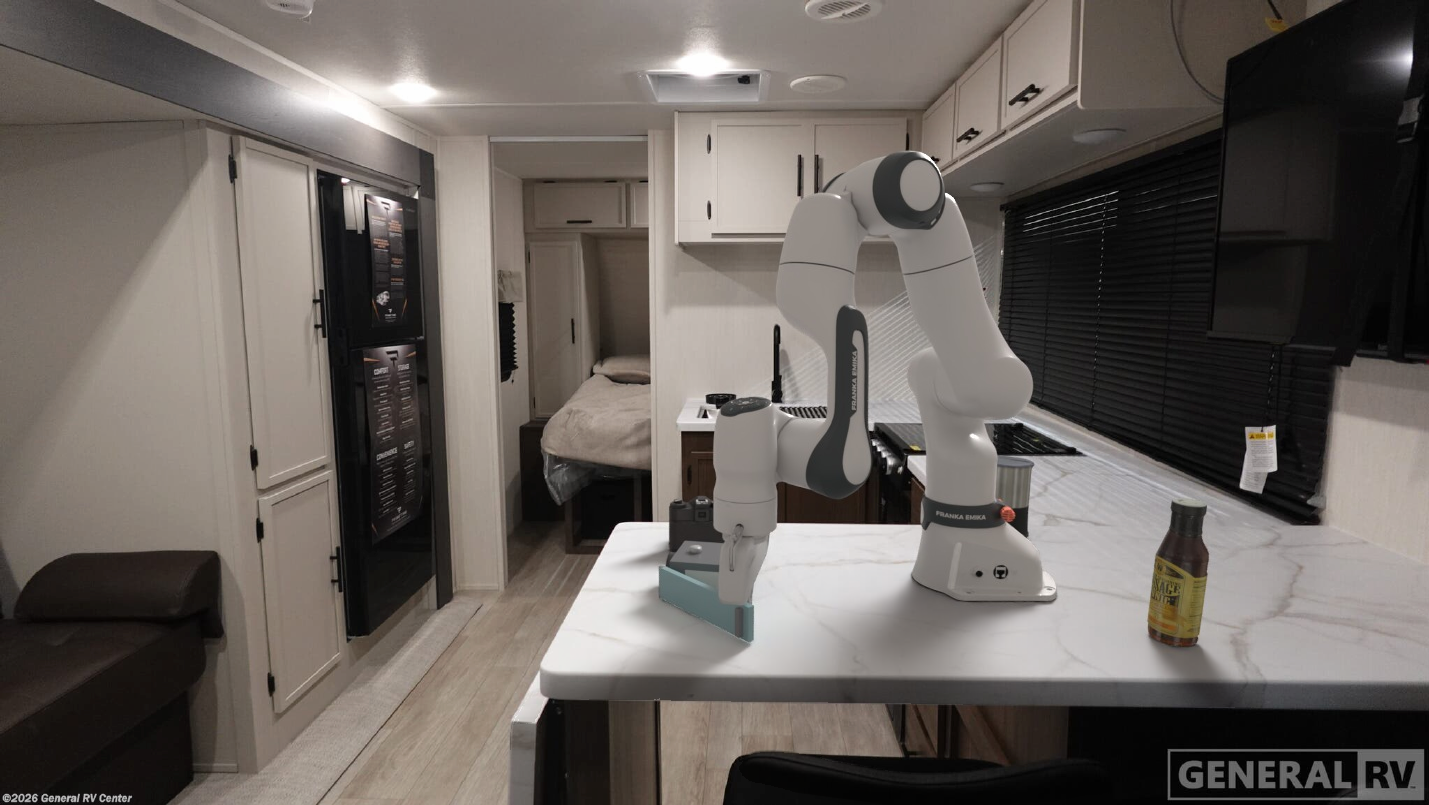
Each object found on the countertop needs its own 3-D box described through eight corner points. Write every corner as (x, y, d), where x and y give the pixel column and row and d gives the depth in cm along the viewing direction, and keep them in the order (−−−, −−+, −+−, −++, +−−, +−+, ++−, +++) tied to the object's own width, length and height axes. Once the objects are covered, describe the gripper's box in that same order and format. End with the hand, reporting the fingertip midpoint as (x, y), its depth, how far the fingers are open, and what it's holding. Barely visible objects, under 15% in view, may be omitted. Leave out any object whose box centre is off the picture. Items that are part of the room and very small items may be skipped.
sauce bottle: (1136, 630, 106) (1148, 494, 103) (1177, 628, 107) (1190, 493, 104) (1167, 651, 100) (1181, 508, 97) (1211, 650, 100) (1226, 506, 98)
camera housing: (754, 579, 125) (755, 540, 124) (745, 604, 115) (745, 561, 114) (677, 573, 128) (676, 535, 127) (661, 597, 118) (660, 555, 117)
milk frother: (1024, 526, 153) (1028, 456, 151) (1042, 552, 138) (1047, 474, 136) (952, 523, 156) (955, 453, 154) (962, 548, 141) (966, 471, 139)
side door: (753, 640, 102) (753, 605, 102) (744, 644, 101) (744, 609, 100) (662, 595, 118) (662, 565, 117) (653, 598, 116) (653, 567, 116)
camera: (739, 535, 149) (740, 486, 147) (746, 553, 138) (747, 501, 136) (668, 537, 147) (667, 487, 146) (669, 556, 137) (668, 503, 135)
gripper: (755, 540, 93) (755, 645, 95) (777, 496, 113) (776, 584, 115) (706, 537, 94) (706, 640, 96) (736, 494, 114) (735, 580, 116)
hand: (744, 609), depth 106 cm, fingers closed
